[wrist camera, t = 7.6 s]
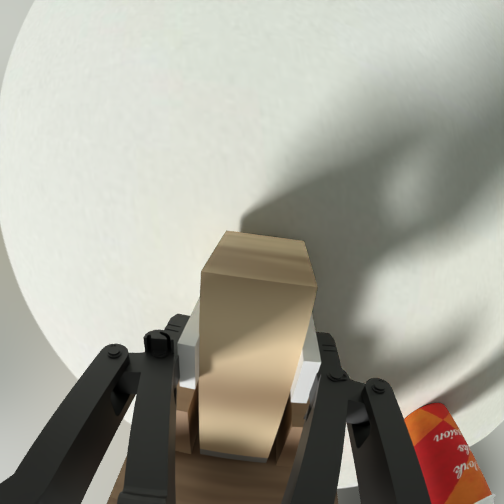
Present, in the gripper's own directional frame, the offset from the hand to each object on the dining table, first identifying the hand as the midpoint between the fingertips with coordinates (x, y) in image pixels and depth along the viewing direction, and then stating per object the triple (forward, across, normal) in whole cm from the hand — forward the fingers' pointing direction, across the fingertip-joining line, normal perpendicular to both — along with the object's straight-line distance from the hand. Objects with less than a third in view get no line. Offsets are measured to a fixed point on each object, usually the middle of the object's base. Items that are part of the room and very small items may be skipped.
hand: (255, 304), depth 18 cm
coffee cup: (+2, +20, -14) cm, 24 cm away
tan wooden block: (0, 0, -2) cm, 2 cm away
